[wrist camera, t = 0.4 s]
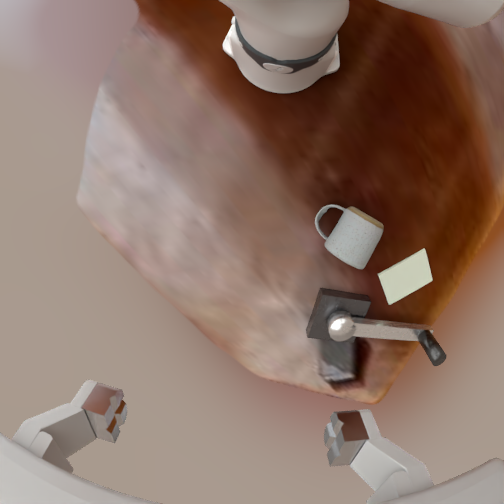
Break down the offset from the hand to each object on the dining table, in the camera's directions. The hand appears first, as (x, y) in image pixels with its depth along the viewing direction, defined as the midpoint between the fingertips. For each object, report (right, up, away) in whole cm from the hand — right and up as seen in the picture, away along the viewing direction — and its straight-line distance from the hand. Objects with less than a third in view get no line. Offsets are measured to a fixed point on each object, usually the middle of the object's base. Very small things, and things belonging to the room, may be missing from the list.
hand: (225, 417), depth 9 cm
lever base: (+18, -6, +44) cm, 48 cm away
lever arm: (+27, -9, +42) cm, 51 cm away
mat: (+32, +1, +41) cm, 52 cm away
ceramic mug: (+17, +10, +38) cm, 43 cm away
